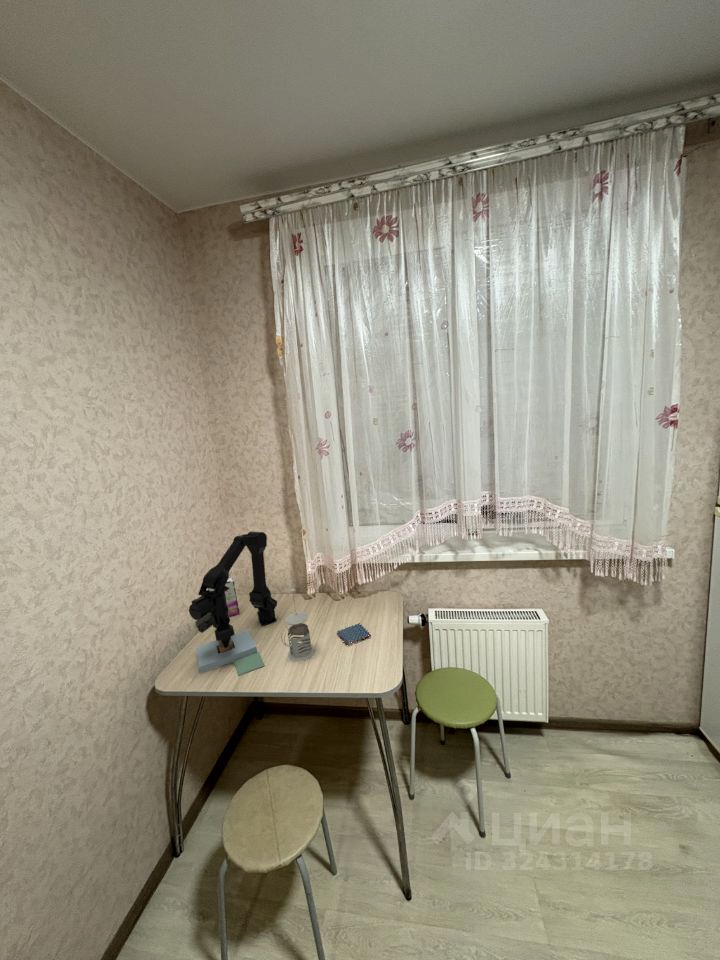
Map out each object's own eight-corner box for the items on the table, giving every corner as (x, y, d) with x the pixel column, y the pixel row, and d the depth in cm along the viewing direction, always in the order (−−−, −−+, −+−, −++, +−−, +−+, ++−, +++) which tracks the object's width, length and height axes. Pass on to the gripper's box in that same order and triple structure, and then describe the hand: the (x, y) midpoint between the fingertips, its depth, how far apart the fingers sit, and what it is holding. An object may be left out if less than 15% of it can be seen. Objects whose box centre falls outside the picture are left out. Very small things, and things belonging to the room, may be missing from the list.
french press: (320, 651, 138) (312, 587, 134) (294, 667, 130) (284, 600, 126) (304, 641, 145) (295, 580, 141) (278, 657, 137) (268, 592, 133)
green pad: (259, 653, 141) (258, 652, 141) (264, 666, 133) (264, 665, 133) (234, 662, 137) (233, 661, 137) (238, 676, 129) (238, 675, 129)
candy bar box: (237, 609, 176) (232, 576, 173) (239, 614, 171) (234, 580, 169) (212, 617, 171) (206, 583, 168) (213, 622, 166) (207, 587, 164)
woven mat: (335, 635, 148) (335, 630, 148) (359, 626, 153) (359, 621, 153) (346, 648, 139) (346, 643, 139) (372, 638, 144) (371, 634, 143)
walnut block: (231, 647, 146) (228, 626, 144) (233, 653, 142) (230, 631, 140) (219, 652, 144) (215, 630, 142) (221, 658, 140) (217, 636, 138)
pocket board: (249, 635, 153) (249, 629, 153) (257, 652, 141) (256, 646, 141) (196, 653, 145) (195, 647, 144) (199, 673, 132) (198, 667, 132)
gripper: (193, 602, 144) (200, 639, 147) (197, 624, 128) (204, 665, 130) (223, 593, 149) (229, 630, 152) (231, 613, 133) (238, 654, 135)
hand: (225, 644), depth 142 cm, fingers closed on walnut block, 4 cm apart
